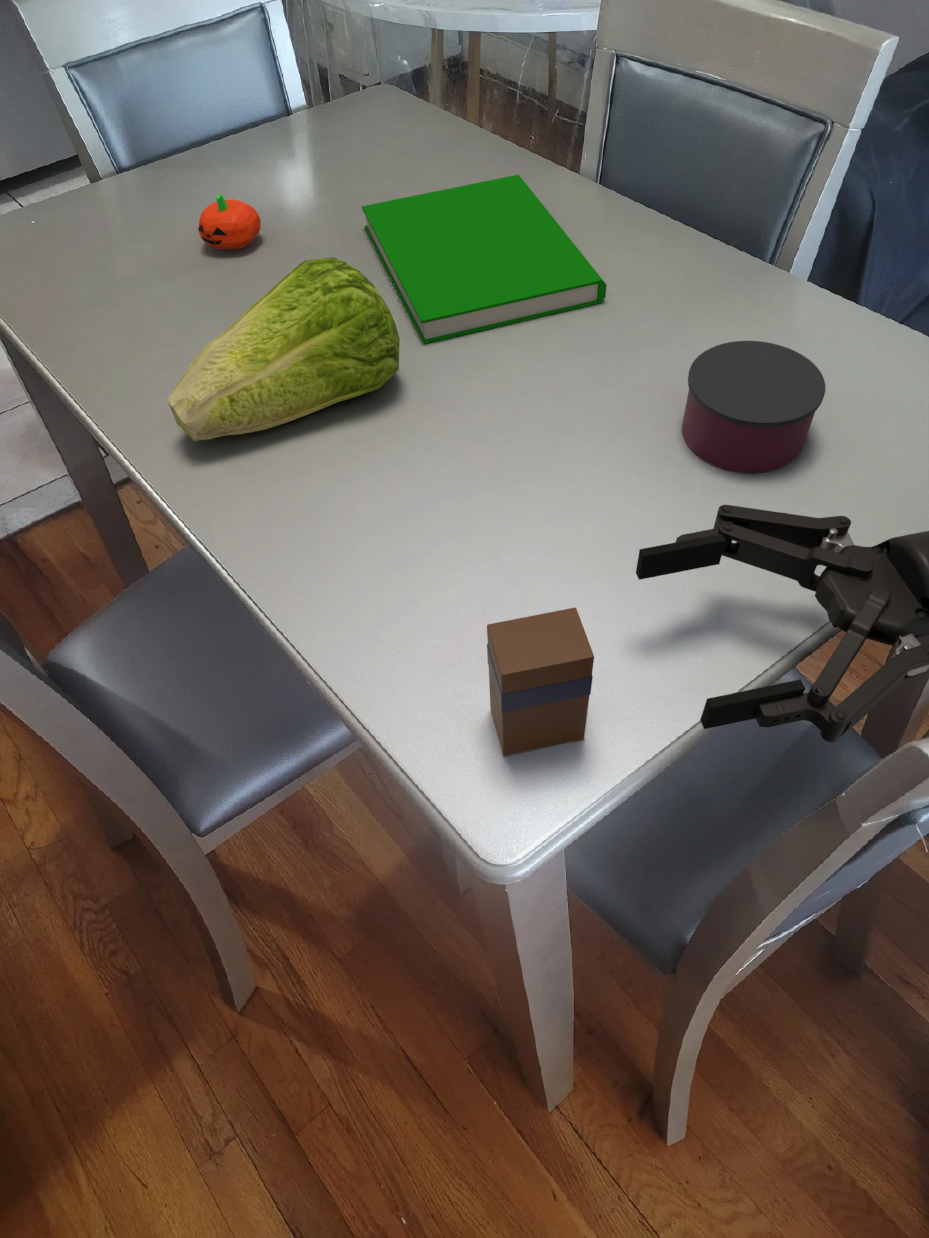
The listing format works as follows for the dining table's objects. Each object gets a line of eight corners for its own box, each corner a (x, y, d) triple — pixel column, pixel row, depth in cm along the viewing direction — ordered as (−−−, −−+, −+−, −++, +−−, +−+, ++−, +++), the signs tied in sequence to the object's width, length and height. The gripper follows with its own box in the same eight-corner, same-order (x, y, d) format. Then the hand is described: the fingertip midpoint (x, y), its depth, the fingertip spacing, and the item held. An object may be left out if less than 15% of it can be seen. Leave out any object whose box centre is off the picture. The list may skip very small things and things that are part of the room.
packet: (568, 692, 69) (576, 606, 60) (585, 740, 66) (595, 657, 58) (489, 708, 68) (485, 623, 60) (502, 757, 66) (500, 676, 57)
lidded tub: (833, 432, 86) (852, 379, 81) (755, 494, 82) (771, 441, 77) (730, 377, 93) (743, 325, 88) (652, 432, 88) (661, 380, 83)
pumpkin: (265, 254, 113) (253, 205, 108) (203, 261, 112) (188, 212, 107) (265, 227, 117) (254, 179, 112) (206, 233, 117) (192, 185, 112)
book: (423, 344, 99) (421, 321, 97) (364, 228, 116) (361, 206, 113) (605, 302, 102) (607, 279, 100) (522, 196, 119) (522, 173, 117)
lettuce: (232, 505, 88) (183, 439, 97) (427, 383, 93) (363, 330, 101) (163, 397, 77) (114, 333, 86) (388, 264, 82) (320, 217, 90)
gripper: (1023, 750, 59) (727, 815, 57) (850, 499, 74) (612, 544, 72) (1080, 690, 53) (751, 761, 51) (879, 430, 68) (620, 478, 66)
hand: (669, 634), depth 62 cm, fingers open, 13 cm apart
